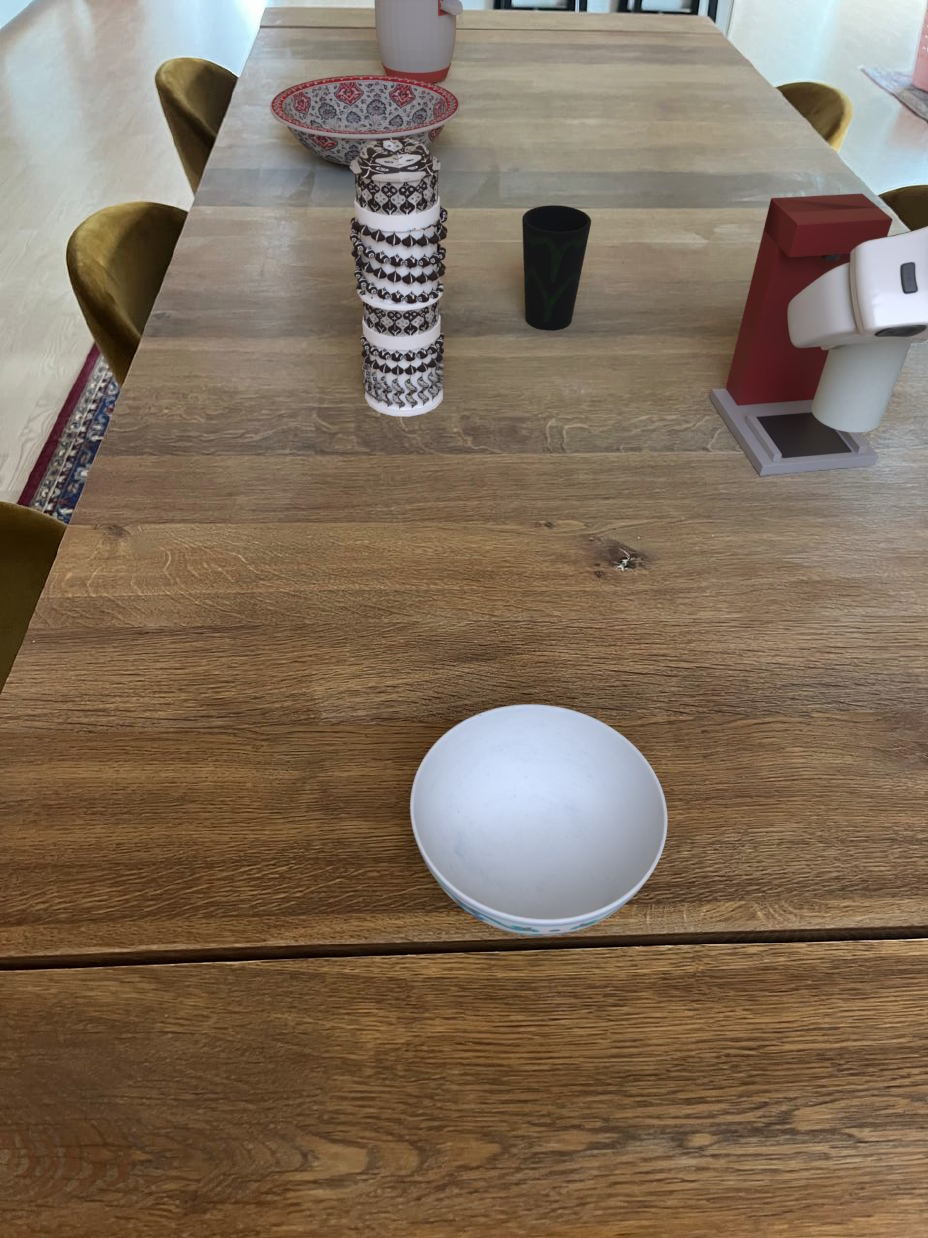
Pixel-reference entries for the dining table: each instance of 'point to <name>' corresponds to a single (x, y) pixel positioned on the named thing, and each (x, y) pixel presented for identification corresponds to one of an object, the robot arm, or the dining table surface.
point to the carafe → (858, 384)
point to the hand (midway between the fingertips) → (868, 337)
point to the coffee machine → (764, 355)
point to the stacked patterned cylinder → (399, 275)
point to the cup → (553, 263)
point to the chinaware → (538, 818)
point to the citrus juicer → (416, 37)
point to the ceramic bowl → (362, 113)
